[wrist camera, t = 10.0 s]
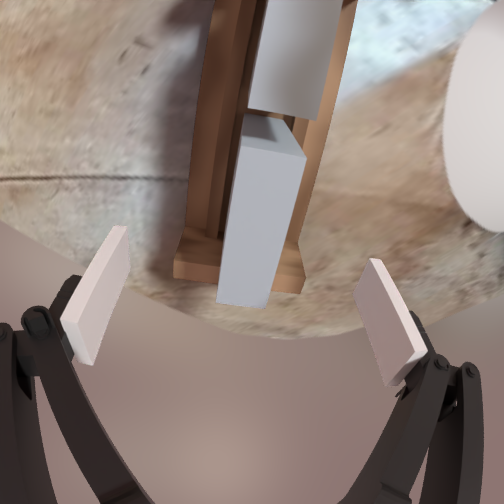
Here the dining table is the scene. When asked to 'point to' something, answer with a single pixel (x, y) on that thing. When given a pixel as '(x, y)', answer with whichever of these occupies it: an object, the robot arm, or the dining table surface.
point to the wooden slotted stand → (264, 104)
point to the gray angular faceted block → (259, 210)
